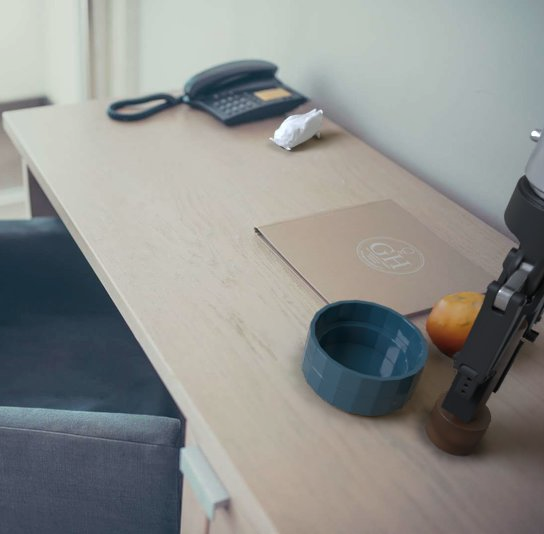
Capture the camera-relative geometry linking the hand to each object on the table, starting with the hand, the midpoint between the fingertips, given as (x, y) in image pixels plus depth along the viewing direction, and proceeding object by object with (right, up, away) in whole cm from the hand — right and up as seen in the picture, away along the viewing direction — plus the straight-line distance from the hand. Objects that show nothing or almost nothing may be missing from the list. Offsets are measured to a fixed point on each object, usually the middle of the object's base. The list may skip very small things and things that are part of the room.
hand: (470, 397), depth 62 cm
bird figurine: (-4, +35, +54) cm, 64 cm away
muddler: (0, -5, +4) cm, 6 cm away
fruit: (+6, +3, +14) cm, 16 cm away
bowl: (-8, 0, +10) cm, 12 cm away
